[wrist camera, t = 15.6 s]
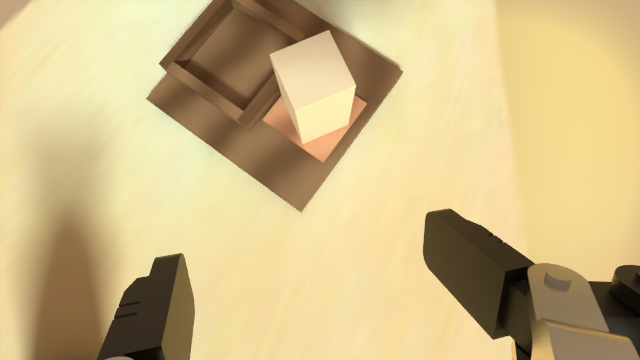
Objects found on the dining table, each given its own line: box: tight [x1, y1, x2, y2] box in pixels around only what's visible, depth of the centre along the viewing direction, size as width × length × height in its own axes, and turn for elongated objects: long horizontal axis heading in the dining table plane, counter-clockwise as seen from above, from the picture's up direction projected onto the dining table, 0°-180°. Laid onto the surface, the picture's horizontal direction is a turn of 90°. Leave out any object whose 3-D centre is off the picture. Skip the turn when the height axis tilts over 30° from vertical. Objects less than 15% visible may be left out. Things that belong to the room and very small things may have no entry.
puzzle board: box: [146, 0, 403, 212], centre depth 36 cm, size 20×18×3 cm
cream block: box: [269, 30, 356, 144], centre depth 31 cm, size 5×5×9 cm
